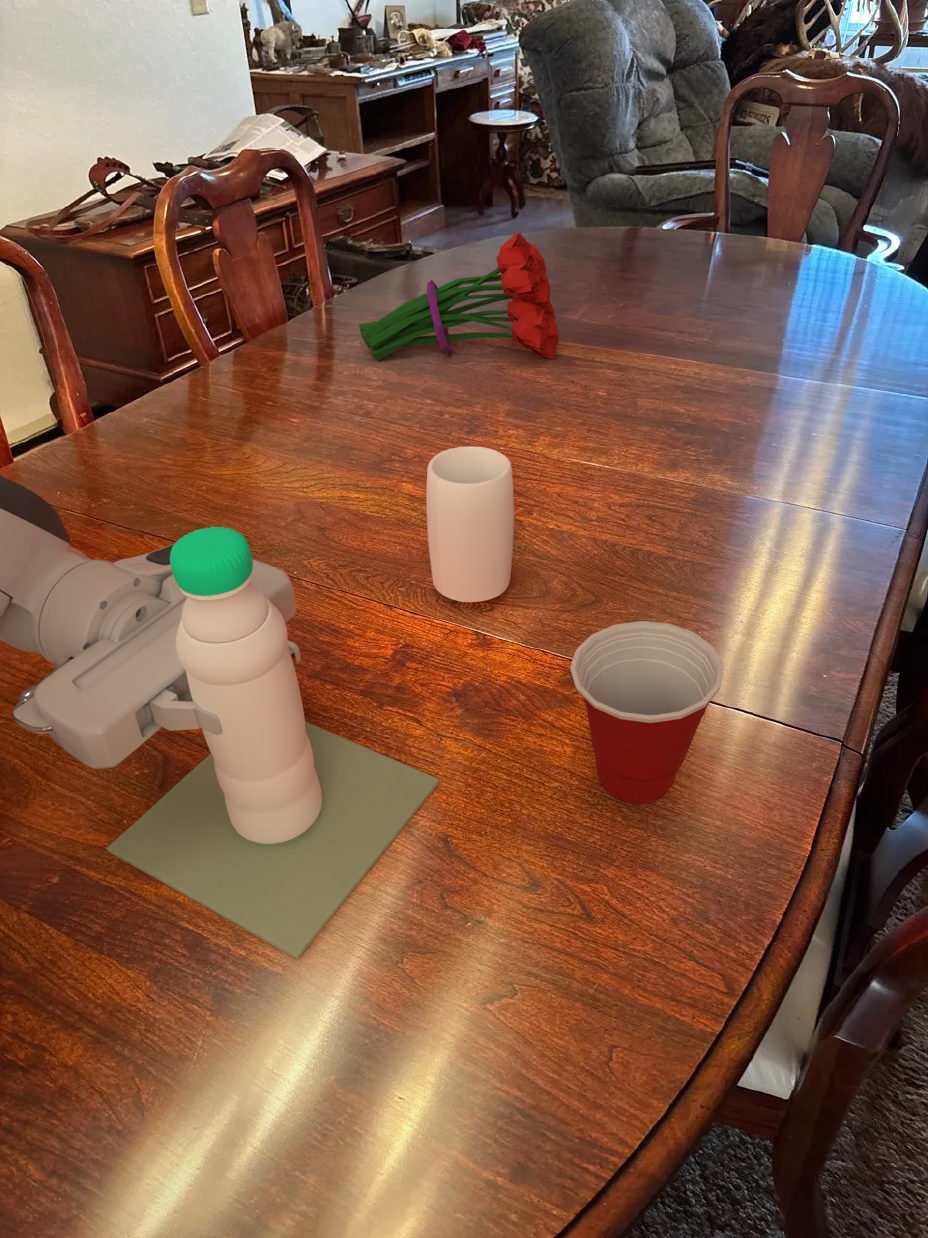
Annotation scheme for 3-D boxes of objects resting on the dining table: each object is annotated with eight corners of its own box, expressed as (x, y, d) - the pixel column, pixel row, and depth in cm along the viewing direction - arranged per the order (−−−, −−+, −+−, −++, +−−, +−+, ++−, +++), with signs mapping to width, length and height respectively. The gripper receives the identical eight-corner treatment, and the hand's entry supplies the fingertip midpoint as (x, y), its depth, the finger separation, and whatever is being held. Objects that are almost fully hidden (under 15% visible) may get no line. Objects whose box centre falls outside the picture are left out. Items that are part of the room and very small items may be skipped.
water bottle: (225, 852, 68) (135, 584, 52) (236, 779, 73) (157, 515, 57) (321, 844, 68) (261, 574, 52) (325, 771, 73) (271, 506, 57)
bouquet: (379, 374, 154) (556, 331, 150) (374, 417, 141) (568, 371, 137) (342, 256, 142) (533, 206, 138) (333, 291, 129) (543, 236, 125)
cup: (530, 589, 94) (533, 464, 85) (470, 625, 89) (467, 497, 81) (473, 556, 99) (470, 435, 90) (413, 588, 94) (405, 465, 86)
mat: (297, 960, 61) (296, 956, 61) (107, 851, 69) (106, 848, 68) (440, 782, 73) (439, 779, 73) (265, 706, 81) (264, 703, 80)
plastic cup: (563, 725, 78) (571, 613, 71) (693, 732, 77) (714, 619, 70) (562, 826, 70) (570, 710, 62) (708, 835, 69) (733, 718, 61)
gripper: (-19, 677, 59) (135, 753, 53) (203, 527, 73) (344, 575, 67) (13, 746, 63) (159, 824, 57) (218, 592, 77) (353, 642, 71)
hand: (261, 688), depth 62 cm, fingers closed on water bottle, 6 cm apart
